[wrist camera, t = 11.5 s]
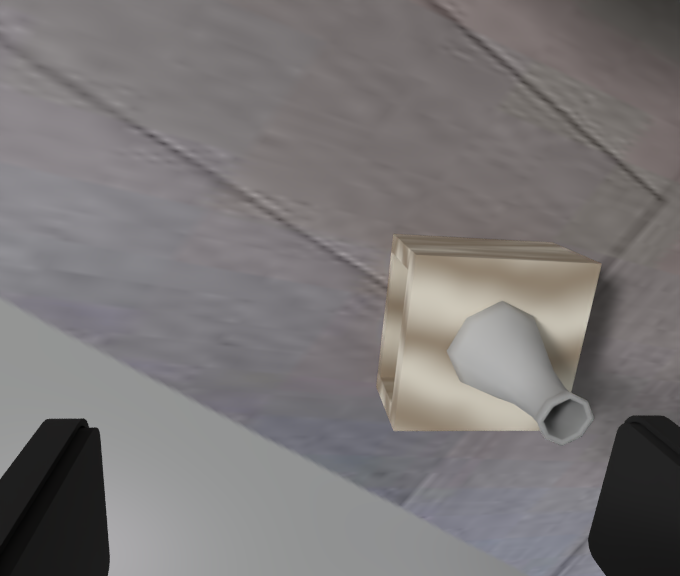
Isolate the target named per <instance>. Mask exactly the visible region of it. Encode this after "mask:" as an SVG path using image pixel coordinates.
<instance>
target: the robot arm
mask: <svg viewBox="0 0 680 576" xmlns="http://www.w3.org/2000/svg"><path fill="white" fill-rule="evenodd" d="M105 505H106V503H105V491H104V479H103V465H102V453H101V441H100V432H99V429H98V428H89V426H88V423H87V421H86V420H85V419H47V420H45V421H44V422H43V423H42V424H41V426H40V427H39V428H38V430H37V431H36V433H35V434H34V435H33V436H32V438H31V439H30V440H29V442H28V443H27V444H26V446H25V447H24V448H23V450H22V451H21V452H20V454H19V455H18V456H17V458H16V459H15V460H14V462H13V463H12V464H11V466H10V467H9V468H8V470H7V471H6V472H5V474H4V475H3V476H2V478H1V479H0V576H108V571H109V563H110V555H109V541H108V530H107V516H106V506H105ZM588 543H589V549H590V552H591V555H592V557H593V558H594V560H595V561H596V563H597V564H598V565H599V567H600V568H601V570H602V571H603V572H604V574H605V575H606V576H680V427H679V426H678V425H676V424H675V423H674V422H672V421H671V420H670V419H668V418H666V417H664V416H631V417H629V418H628V419H627V420H626V421H625V423H624V424H622V425H621V426H620V427H619V428H618V430H617V434H616V437H615V441H614V445H613V448H612V452H611V456H610V459H609V463H608V467H607V471H606V474H605V478H604V482H603V485H602V489H601V493H600V496H599V500H598V504H597V507H596V511H595V515H594V519H593V522H592V526H591V530H590V533H589V538H588Z"/></svg>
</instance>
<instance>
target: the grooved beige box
mask: <svg viewBox="0 0 680 576" xmlns="http://www.w3.org/2000/svg"><path fill="white" fill-rule="evenodd" d="M601 265H602V264H601V263H599V262H596V261H594V260H592V259H589V258H587V257H585V256H582V255H580V254H578V253H576V252H573V251H571V250H569V249H566V248H564V247H562V246H559V245H557V244H555V243H552V242H533V241H515V240H496V239H478V238H459V237H441V236H422V235H403V234H393V243H392V252H391V261H390V270H389V279H388V288H387V296H386V305H385V314H384V323H383V332H382V341H381V350H380V359H379V368H378V377H377V386H376V387H377V390H378V392H379V395H380V397H381V400H382V402H383V405H384V407H385V410H386V412H387V415H388V417H389V420H390V423H391V425H392V428H393V430H394V431H540V429H539V426H538V423H537V422H536V421H535V420H534V418H533V417H532V416H530V415H529V414H527V413H526V412H525V411H523V410H522V409H520V408H519V407H518V406H516V405H515V404H512V403H510V402H507V401H504V400H502V399H499V398H496V397H494V396H492V395H489V394H487V393H485V392H483V391H480V390H478V389H476V388H473V387H471V386H469V385H467V384H464V383H462V382H460V380H459V378H458V376H457V374H456V371H455V369H454V367H453V365H452V362H451V360H450V358H449V356H448V353H447V349H448V348H449V346H450V345H451V343H452V341H453V340H454V338H455V336H456V335H457V333H458V331H459V330H460V328H461V326H462V325H463V323H464V321H465V320H466V318H468V317H470V316H472V315H474V314H476V313H478V312H480V311H482V310H484V309H486V308H488V307H490V306H492V305H494V304H496V303H498V302H500V301H504V302H506V303H508V304H510V305H512V306H514V307H516V308H518V309H520V310H522V311H524V312H526V313H528V314H530V315H532V316H533V317H534V319H535V322H536V324H537V327H538V330H539V332H540V335H541V338H542V341H543V343H544V346H545V349H546V352H547V354H548V357H549V360H550V362H551V365H552V367H553V370H554V372H555V373H556V375H557V376H558V378H559V379H560V381H561V382H562V384H563V385H564V387H565V388H566V389H567V390H568V391H569V392H571V391H572V386H573V382H574V378H575V374H576V370H577V365H578V361H579V357H580V353H581V349H582V344H583V340H584V336H585V332H586V328H587V323H588V319H589V315H590V311H591V307H592V302H593V298H594V294H595V290H596V286H597V282H598V277H599V273H600V269H601Z"/></svg>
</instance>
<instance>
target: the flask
mask: <svg viewBox="0 0 680 576" xmlns="http://www.w3.org/2000/svg"><path fill="white" fill-rule="evenodd" d="M447 353H448V356H449V358H450V360H451V362H452V365H453V367H454V369H455V371H456V374H457V376H458V378H459V380H460V382H462V383H464V384H467V385H469V386H471V387H473V388H476V389H478V390H480V391H483V392H485V393H487V394H489V395H492V396H494V397H496V398H499V399H502V400H504V401H507V402H510V403H512V404H515V405H516V406H518V407H519V408H520V409H522V410H523V411H525V412H526V413H527V414H529V415H530V416H532V417H533V418H534V420H535V421H536V422H537V423H538V426H539V429H540V431H541V434H542V436H543V437H544V438H545V439H547V440H549V441H551V442H554V443H556V444H558V445H561V446H563V445H565V444H567V443H569V442H572V441H574V440H576V439H578V438H580V437H582V436H583V434H584V433H585V431H586V430H587V428H588V427H589V426H590V424H591V423H592V421H593V420H594V417H593V414H592V411H591V408H590V405H589V402H588V401H587V400H586V399H583V398H581V397H579V396H577V395H575V394H573V393H571V392H569V391H568V390H567V389H566V388H565V387H564V385H563V384H562V382H561V381H560V379H559V378H558V376H557V375H556V373H555V372H554V370H553V367H552V365H551V362H550V360H549V357H548V354H547V352H546V349H545V346H544V343H543V341H542V338H541V335H540V332H539V330H538V327H537V324H536V322H535V319H534V317H533V316H532V315H530V314H528V313H526V312H524V311H522V310H520V309H518V308H516V307H514V306H512V305H510V304H508V303H506V302H504V301H500V302H498V303H496V304H494V305H492V306H490V307H488V308H486V309H484V310H482V311H480V312H478V313H476V314H474V315H472V316H470V317H468V318H466V320H465V321H464V323H463V325H462V326H461V328H460V330H459V331H458V333H457V335H456V336H455V338H454V340H453V341H452V343H451V345H450V346H449V348H448V349H447Z"/></svg>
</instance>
